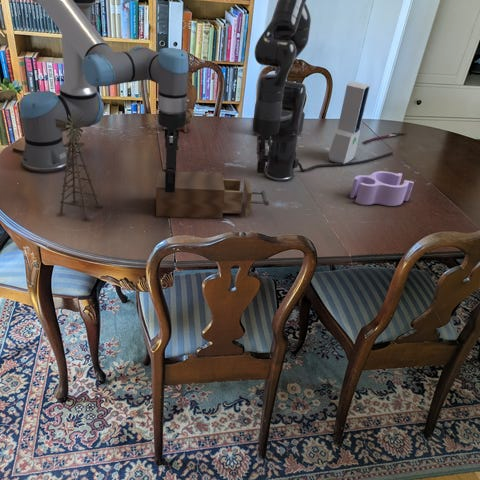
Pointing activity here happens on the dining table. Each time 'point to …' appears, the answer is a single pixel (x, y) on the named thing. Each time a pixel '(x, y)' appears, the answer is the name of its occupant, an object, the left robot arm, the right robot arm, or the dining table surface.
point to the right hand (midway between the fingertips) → (260, 172)
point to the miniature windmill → (73, 142)
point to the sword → (383, 137)
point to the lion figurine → (188, 118)
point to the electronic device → (349, 123)
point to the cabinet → (191, 195)
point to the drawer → (240, 196)
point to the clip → (381, 189)
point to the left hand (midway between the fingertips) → (170, 181)
